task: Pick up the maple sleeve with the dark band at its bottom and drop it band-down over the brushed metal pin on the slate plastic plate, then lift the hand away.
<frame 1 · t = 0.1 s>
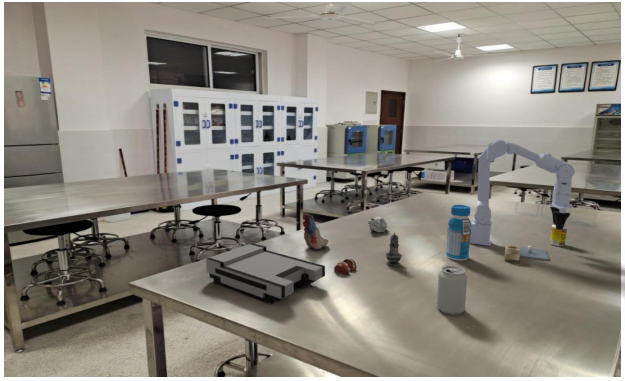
hand: (557, 226, 161), 10 cm above the table, tool pointing down, fingers open, 7 cm apart
sleeve: (511, 260, 152), on the table
can: (450, 310, 112), on the table
game console: (265, 285, 129), on the table
grey lumpy stone: (376, 231, 189), on the table
anatomical model: (315, 248, 165), on the table
beverage bottle: (457, 258, 154), on the table
supplement bottle: (557, 245, 171), on the table
pair of red halves: (345, 271, 141), on the table
pin plate: (529, 253, 159), on the table
stone pagoda statue: (393, 264, 147), on the table
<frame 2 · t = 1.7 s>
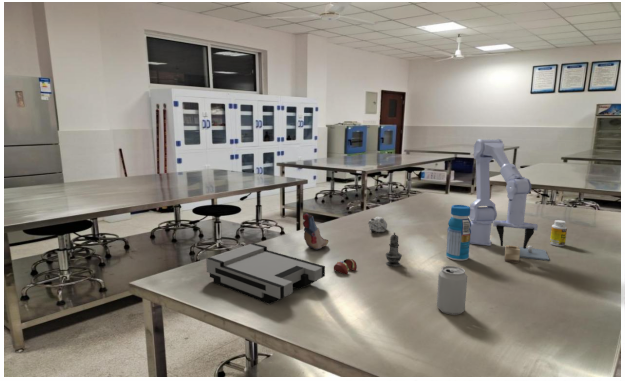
hand: (512, 246, 151), 5 cm above the table, tool pointing down, fingers open, 7 cm apart
nothing on the table moved.
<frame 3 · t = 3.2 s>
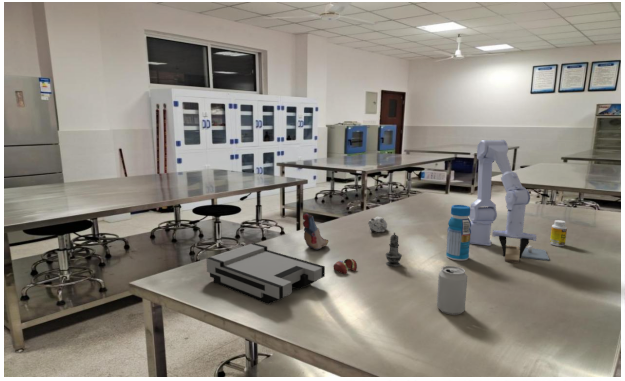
hand: (511, 256, 151), 1 cm above the table, tool pointing down, fingers closed on sleeve, 5 cm apart
sleeve: (511, 260, 152), on the table, touching gripper
everything else where it was.
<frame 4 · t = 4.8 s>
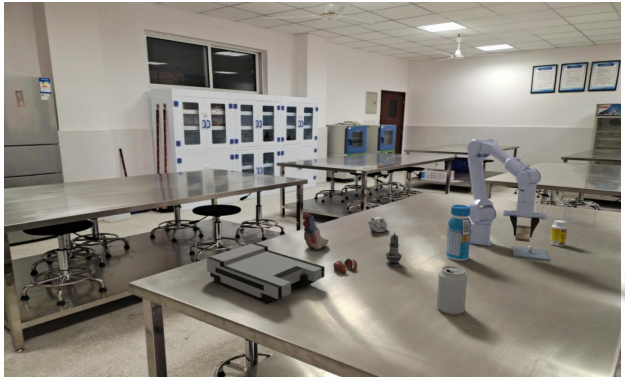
hand: (522, 236, 154), 8 cm above the table, tool pointing down, fingers closed on sleeve, 5 cm apart
sleeve: (522, 239, 154), point 7 cm above the table, touching gripper
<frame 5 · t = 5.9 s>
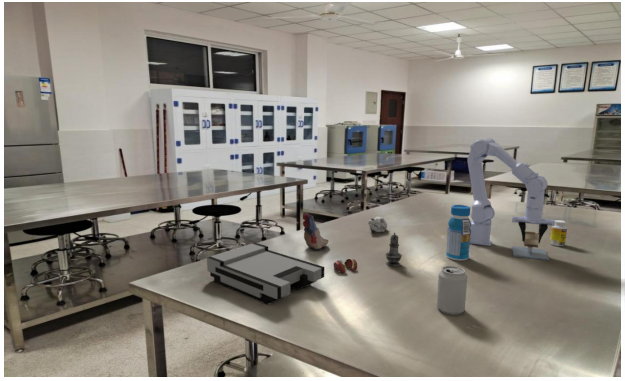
hand: (530, 241, 158), 5 cm above the table, tool pointing down, fingers closed on sleeve, 5 cm apart
sleeve: (530, 245, 158), point 4 cm above the table, touching gripper
when the fingers open (5 cm above the table, at t = 6.7 s): sleeve drops 3 cm, resting on pin plate.
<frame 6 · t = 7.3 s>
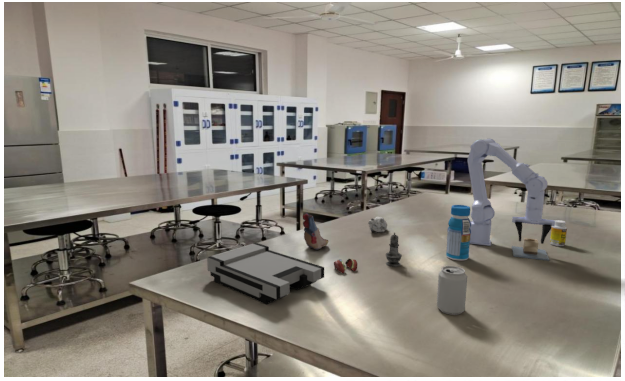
hand: (530, 241, 158), 5 cm above the table, tool pointing down, fingers open, 7 cm apart
sleeve: (529, 252, 159), point 1 cm above the table, touching pin plate
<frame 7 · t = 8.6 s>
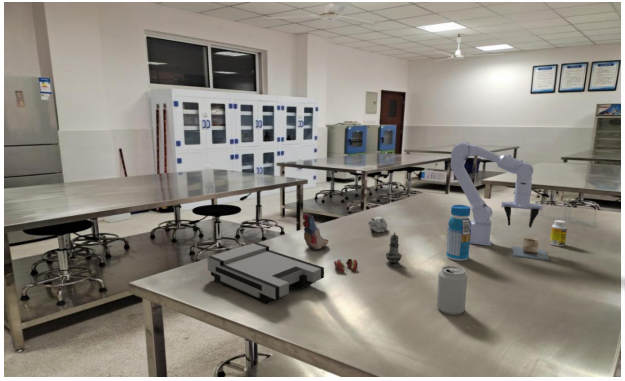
hand: (519, 225, 164), 9 cm above the table, tool pointing down, fingers open, 7 cm apart
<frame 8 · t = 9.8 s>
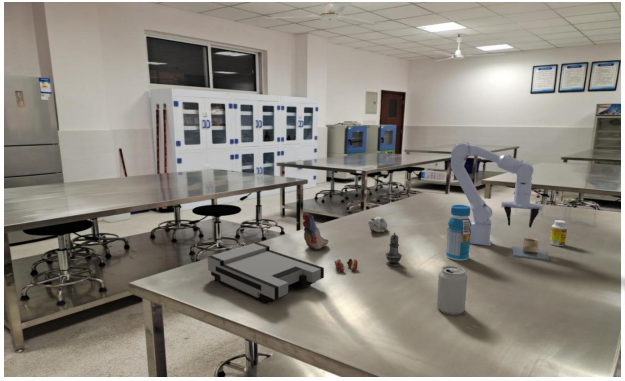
hand: (519, 225, 164), 9 cm above the table, tool pointing down, fingers open, 7 cm apart
at the end: sleeve 0.1 cm off-centre on the pin plate, point 0.6 cm above the pin plate's base; sleeve tilted 0°; the gripper is holding nothing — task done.
